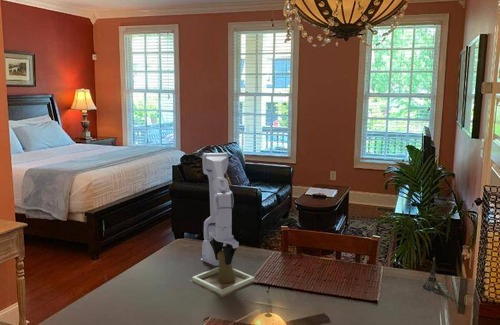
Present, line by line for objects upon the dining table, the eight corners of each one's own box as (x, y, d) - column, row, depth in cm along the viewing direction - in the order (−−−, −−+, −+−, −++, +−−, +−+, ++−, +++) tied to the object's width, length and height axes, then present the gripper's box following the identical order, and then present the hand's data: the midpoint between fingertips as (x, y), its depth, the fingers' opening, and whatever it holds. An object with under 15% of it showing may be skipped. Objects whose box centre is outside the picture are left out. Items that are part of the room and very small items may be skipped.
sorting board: (188, 281, 169) (188, 280, 169) (224, 267, 182) (224, 266, 182) (221, 298, 157) (221, 297, 157) (258, 282, 170) (258, 281, 170)
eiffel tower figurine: (452, 301, 158) (456, 264, 155) (420, 298, 160) (424, 261, 157) (443, 282, 172) (446, 248, 170) (414, 280, 174) (417, 246, 172)
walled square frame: (192, 280, 169) (192, 276, 169) (224, 268, 181) (224, 264, 180) (222, 295, 158) (222, 291, 158) (254, 281, 170) (254, 277, 169)
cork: (236, 275, 172) (233, 248, 170) (232, 283, 166) (230, 255, 164) (220, 275, 173) (217, 248, 171) (216, 283, 168) (213, 254, 165)
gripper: (245, 228, 163) (245, 264, 165) (219, 218, 173) (219, 253, 176) (229, 232, 158) (229, 269, 161) (204, 222, 169) (204, 257, 171)
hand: (223, 261), depth 168 cm, fingers closed on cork, 5 cm apart
